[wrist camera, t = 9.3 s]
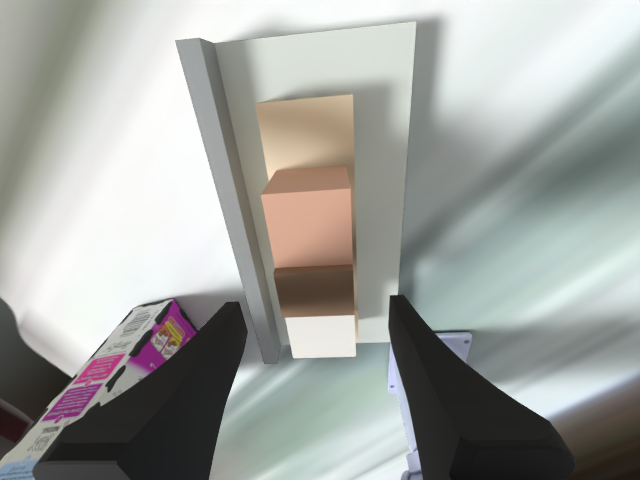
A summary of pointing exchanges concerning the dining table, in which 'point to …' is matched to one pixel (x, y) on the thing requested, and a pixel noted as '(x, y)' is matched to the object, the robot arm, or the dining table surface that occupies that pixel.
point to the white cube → (322, 336)
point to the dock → (249, 161)
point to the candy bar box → (104, 378)
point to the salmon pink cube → (309, 217)
